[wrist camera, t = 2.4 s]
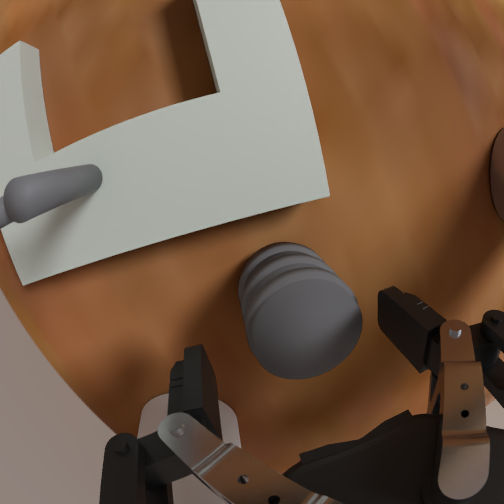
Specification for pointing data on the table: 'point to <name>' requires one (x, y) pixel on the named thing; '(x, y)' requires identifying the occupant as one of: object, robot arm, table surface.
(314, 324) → the grooved grey cylinder
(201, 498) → the cup
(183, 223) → the board
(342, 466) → the robot arm
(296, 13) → the table surface
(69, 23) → the table surface
